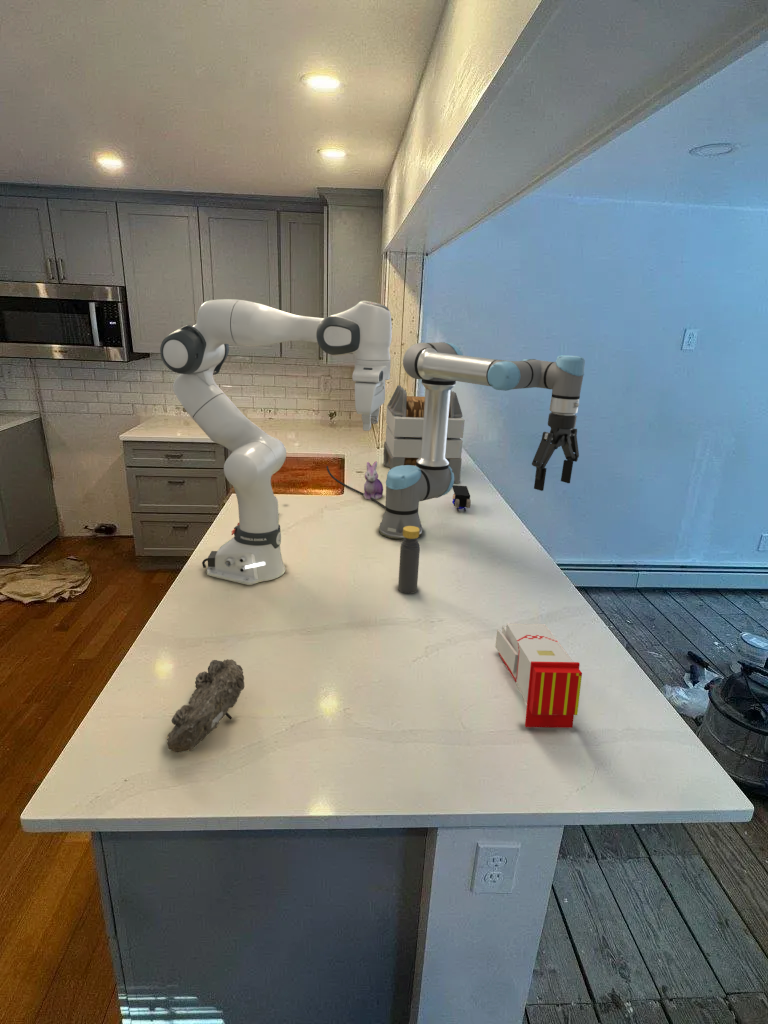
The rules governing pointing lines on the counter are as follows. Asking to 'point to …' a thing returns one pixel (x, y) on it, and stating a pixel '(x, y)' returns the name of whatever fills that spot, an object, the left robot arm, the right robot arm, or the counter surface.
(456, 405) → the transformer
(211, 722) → the fossil
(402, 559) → the bottle
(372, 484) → the figurine
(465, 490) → the figurine character
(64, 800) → the counter surface
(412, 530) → the cap
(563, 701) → the toy
